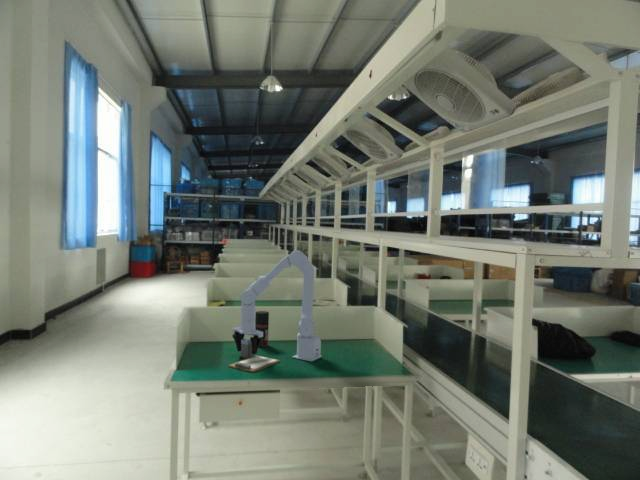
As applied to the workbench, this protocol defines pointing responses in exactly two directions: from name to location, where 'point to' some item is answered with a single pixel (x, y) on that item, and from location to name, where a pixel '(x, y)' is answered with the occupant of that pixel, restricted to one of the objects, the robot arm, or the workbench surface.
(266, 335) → the deodorant
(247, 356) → the block
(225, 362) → the workbench surface
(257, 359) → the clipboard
